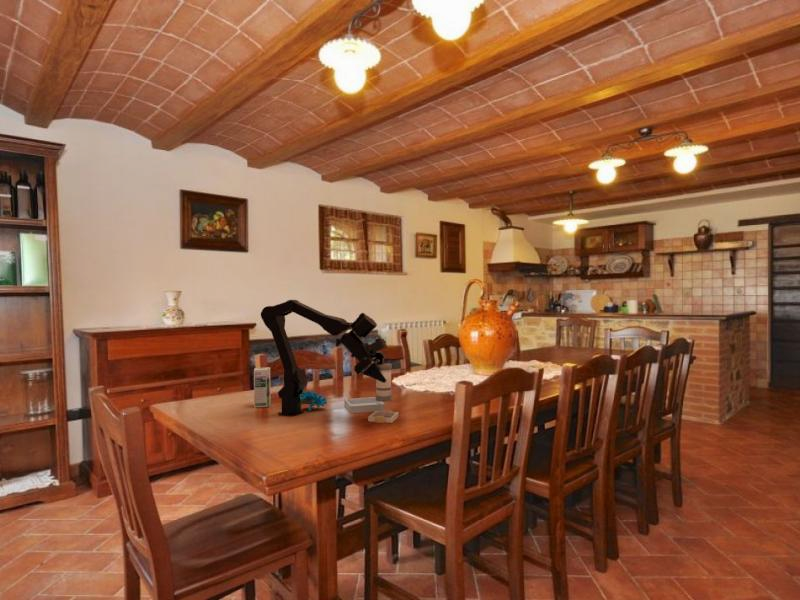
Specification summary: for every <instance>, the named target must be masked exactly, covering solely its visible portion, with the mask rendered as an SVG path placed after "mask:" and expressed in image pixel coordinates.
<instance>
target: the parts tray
mask: <svg viewBox="0 0 800 600" xmlns="http://www.w3.org/2000/svg"><path fill="white" fill-rule="evenodd" d="M343 402H344V405H343V406H344V408H346V410H347V411H348V412H349V413H350V414H360V413H362V414H363V413H374V412H375V411H383V410H386V404H385V402H380V401H376V396H371V397H358V398H345V399H344V400H343Z"/></svg>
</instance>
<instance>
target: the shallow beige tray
mask: <svg viewBox="0 0 800 600" xmlns="http://www.w3.org/2000/svg"><path fill="white" fill-rule="evenodd" d="M398 418H399V412H398V411H393V410H392V409H385V410H383V411H375V412H372V413H371V414H370V415H369V416H368V417H367V420H368V422H372V423H373V422H374V423H380V424H383V423H384V424H385V423H388V424H389V423H391V424H393V422H395V421H396V420H397V419H398Z"/></svg>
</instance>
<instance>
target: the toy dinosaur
mask: <svg viewBox="0 0 800 600" xmlns="http://www.w3.org/2000/svg"><path fill="white" fill-rule="evenodd" d="M300 399H301V407H303V406H302V405H309V406H308V409H307V411H308V412H312V408H313V407H314V406H315V405H316V407H317V408H319V407H321V406H322V407H325V405H327V404H328V401H327V398H326V397H324V396H323V394H321V393H317V391H313V392H311V391H310V390H307V391H304V390H303V392H302V394H300Z"/></svg>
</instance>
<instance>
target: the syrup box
mask: <svg viewBox="0 0 800 600" xmlns="http://www.w3.org/2000/svg"><path fill="white" fill-rule="evenodd" d="M253 395H254V396H253V397H254V398H253V408H254V409H256V407H257V408H270V406H271V367H270V366H269V367H255V368H254V369H253Z"/></svg>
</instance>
